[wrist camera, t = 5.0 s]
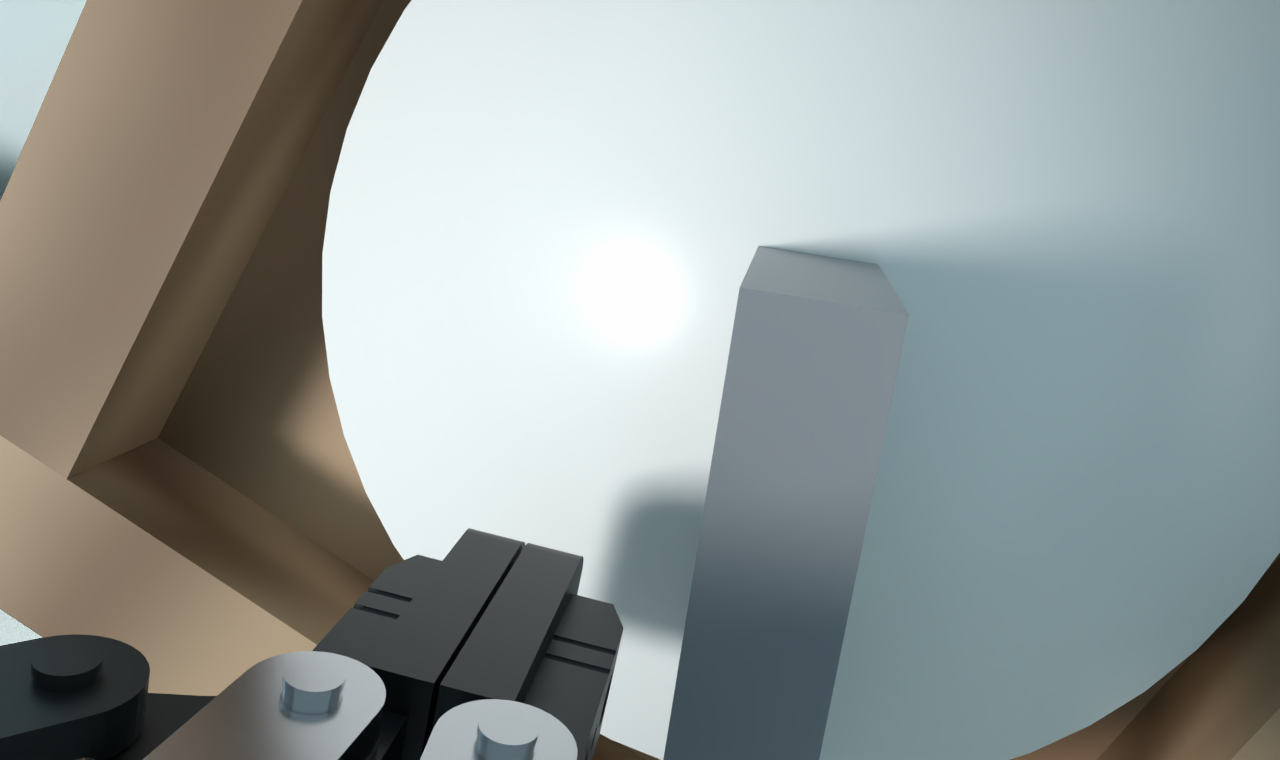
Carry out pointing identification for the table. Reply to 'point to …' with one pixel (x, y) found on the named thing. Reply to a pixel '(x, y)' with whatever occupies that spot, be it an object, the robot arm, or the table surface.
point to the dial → (829, 345)
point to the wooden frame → (276, 371)
